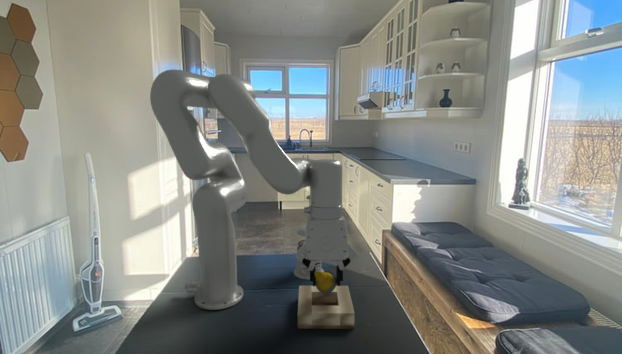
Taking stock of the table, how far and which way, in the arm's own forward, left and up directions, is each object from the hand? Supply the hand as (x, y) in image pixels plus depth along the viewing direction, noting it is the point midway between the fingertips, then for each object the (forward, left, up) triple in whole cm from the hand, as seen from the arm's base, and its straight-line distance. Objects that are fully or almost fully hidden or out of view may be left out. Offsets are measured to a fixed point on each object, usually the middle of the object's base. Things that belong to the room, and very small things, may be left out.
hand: (326, 282), depth 81 cm
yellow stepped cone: (0, 0, -3) cm, 3 cm away
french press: (-3, +23, -8) cm, 25 cm away
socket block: (0, 0, -8) cm, 8 cm away
